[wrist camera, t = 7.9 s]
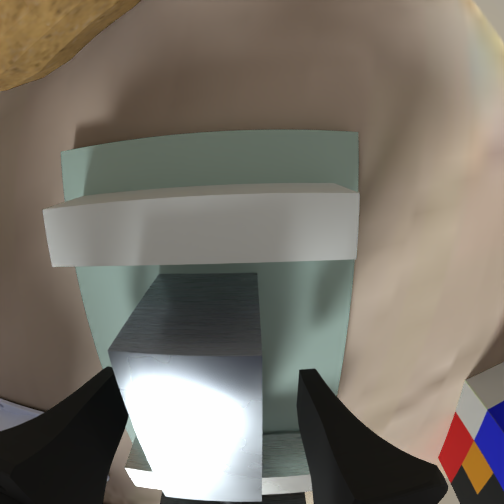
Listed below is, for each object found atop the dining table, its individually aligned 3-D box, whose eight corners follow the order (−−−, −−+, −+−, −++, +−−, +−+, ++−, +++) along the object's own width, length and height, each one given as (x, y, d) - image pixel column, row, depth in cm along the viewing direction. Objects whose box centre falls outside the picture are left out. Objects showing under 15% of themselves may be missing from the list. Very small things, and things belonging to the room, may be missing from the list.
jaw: (167, 486, 18) (158, 532, 14) (140, 423, 16) (120, 480, 11) (301, 488, 18) (308, 535, 14) (313, 425, 16) (325, 486, 11)
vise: (140, 441, 17) (125, 486, 13) (72, 151, 12) (16, 155, 8) (322, 442, 17) (332, 491, 13) (350, 133, 12) (391, 126, 8)
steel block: (183, 412, 15) (165, 496, 10) (158, 273, 13) (107, 350, 7) (258, 413, 15) (261, 501, 10) (257, 272, 13) (262, 355, 7)
